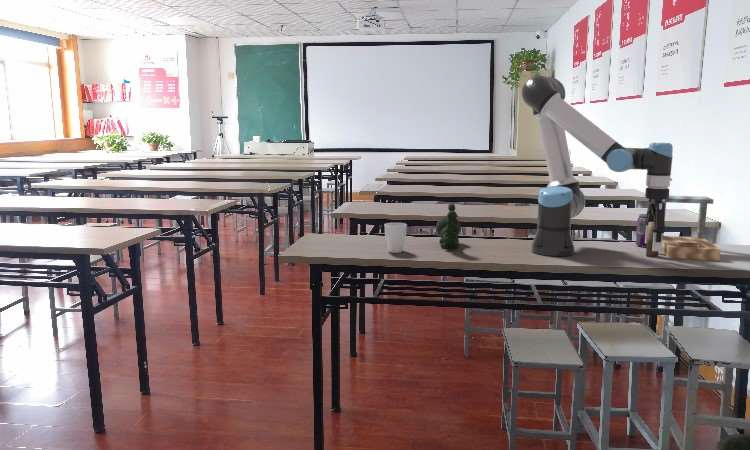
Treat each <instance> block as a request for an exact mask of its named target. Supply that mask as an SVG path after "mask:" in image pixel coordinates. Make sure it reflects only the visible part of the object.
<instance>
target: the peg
mask: <svg viewBox="0 0 750 450" xmlns="http://www.w3.org/2000/svg"><path fill="white" fill-rule="evenodd" d="M653 230H655V227H654V222H649V223H648V235H647V247H645V248H646V249H645V256H646V257H648V258H658V257H659V253H660V251H652V248H653V236H654V232H653Z"/></svg>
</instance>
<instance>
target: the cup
mask: <svg viewBox="0 0 750 450" xmlns="http://www.w3.org/2000/svg"><path fill="white" fill-rule="evenodd" d="M407 225H408V224H407V223H405V222H387V223H384V237H385V243H386V247H387V250H388V253H394V254H395V253H396V254H399V253H402V252H403V250H404V247H405V244H406V243H405V242H406V237H407V227H408V226H407Z"/></svg>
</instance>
